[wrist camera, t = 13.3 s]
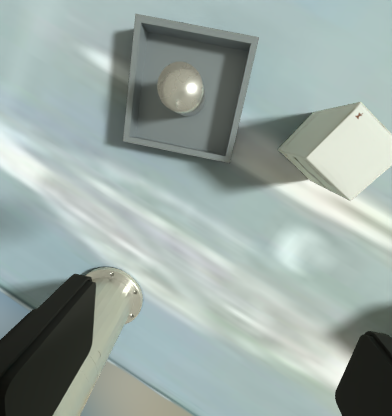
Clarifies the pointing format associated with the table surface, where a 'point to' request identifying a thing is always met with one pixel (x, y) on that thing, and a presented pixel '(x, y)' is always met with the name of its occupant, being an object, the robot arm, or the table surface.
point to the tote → (211, 77)
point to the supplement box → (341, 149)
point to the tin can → (181, 89)
